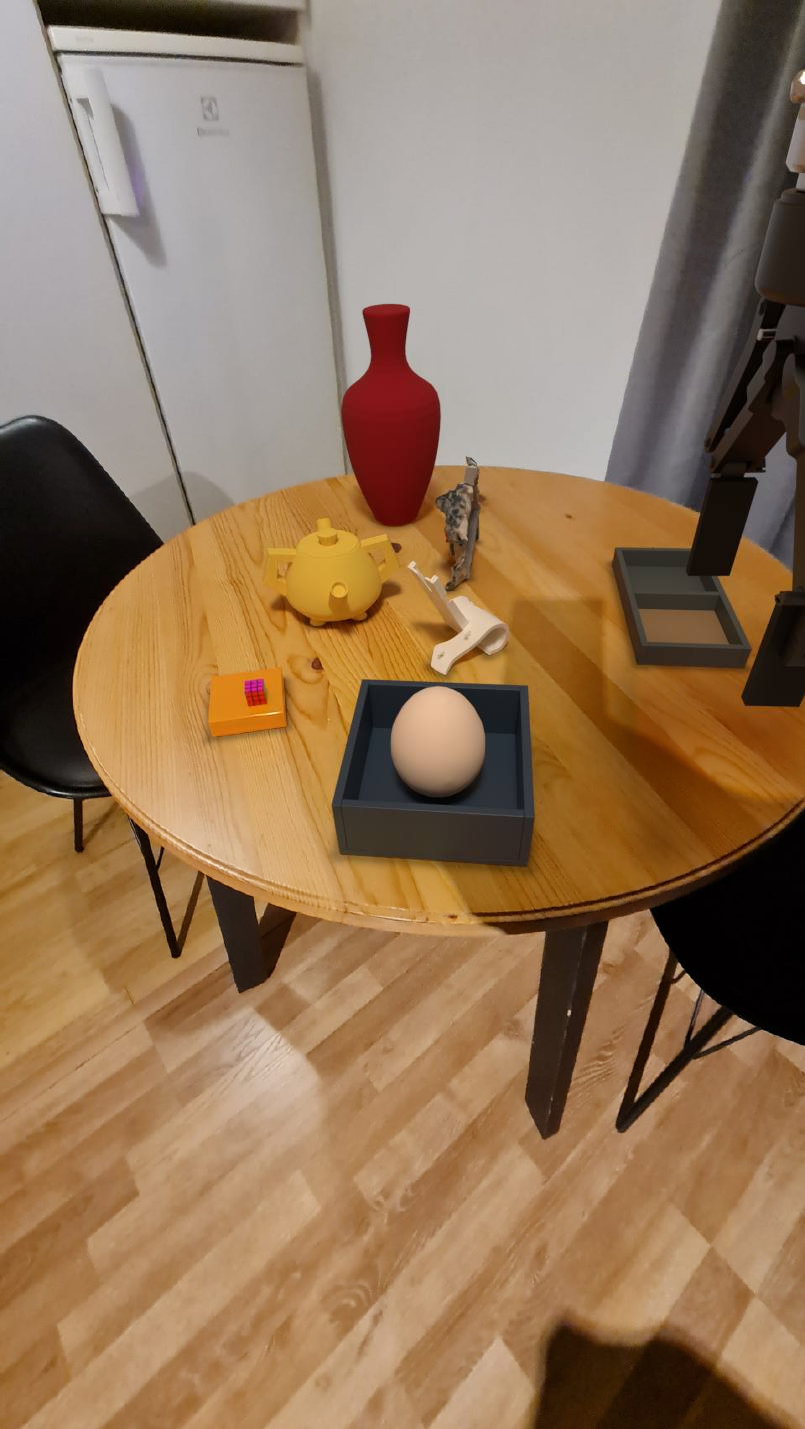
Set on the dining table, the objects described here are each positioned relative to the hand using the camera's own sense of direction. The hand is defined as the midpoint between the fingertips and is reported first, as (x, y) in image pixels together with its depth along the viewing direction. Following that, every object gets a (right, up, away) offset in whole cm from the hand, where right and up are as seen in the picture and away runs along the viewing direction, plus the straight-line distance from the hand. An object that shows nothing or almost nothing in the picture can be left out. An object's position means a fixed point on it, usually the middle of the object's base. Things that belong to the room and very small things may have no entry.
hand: (734, 630), depth 40 cm
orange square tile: (-37, -5, +34) cm, 51 cm away
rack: (+15, +8, +45) cm, 48 cm away
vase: (-21, +27, +68) cm, 77 cm away
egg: (-17, -12, +24) cm, 31 cm away
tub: (-17, -12, +24) cm, 32 cm away
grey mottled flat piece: (-12, +17, +56) cm, 60 cm away
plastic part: (-13, +3, +41) cm, 43 cm away
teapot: (-29, +9, +49) cm, 58 cm away
